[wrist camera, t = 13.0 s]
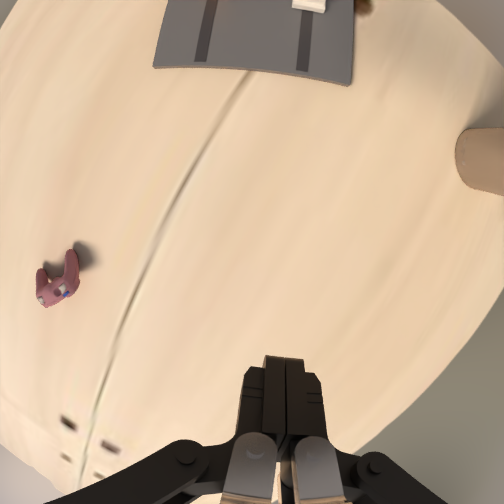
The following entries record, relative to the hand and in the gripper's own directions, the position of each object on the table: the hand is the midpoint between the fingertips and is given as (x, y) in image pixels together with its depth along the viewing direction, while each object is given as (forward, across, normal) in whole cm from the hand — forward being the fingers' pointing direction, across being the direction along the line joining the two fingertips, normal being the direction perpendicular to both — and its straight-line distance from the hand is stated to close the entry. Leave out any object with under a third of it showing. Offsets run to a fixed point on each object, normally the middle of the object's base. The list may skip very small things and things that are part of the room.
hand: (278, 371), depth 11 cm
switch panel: (+28, +6, -25) cm, 38 cm away
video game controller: (+23, +30, +14) cm, 41 cm away
